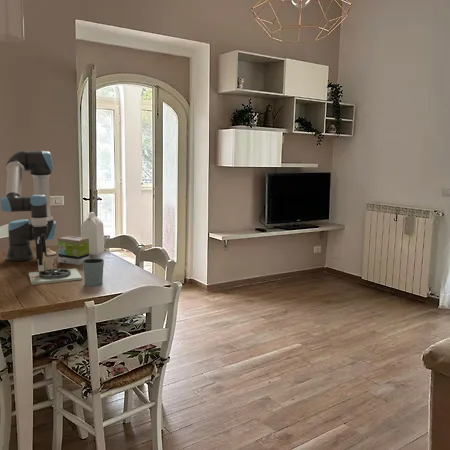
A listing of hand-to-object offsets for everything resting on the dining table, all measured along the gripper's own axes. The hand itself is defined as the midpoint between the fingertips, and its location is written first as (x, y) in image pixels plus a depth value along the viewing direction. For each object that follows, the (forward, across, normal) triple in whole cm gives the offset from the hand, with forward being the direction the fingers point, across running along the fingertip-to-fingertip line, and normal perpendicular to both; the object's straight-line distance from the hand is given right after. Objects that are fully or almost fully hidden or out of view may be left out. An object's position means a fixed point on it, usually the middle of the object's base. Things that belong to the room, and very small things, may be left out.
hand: (42, 269), depth 243 cm
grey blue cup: (+4, -16, -27) cm, 32 cm away
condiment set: (+5, +18, 0) cm, 18 cm away
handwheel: (+3, -1, -6) cm, 6 cm away
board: (+4, -1, -6) cm, 8 cm away
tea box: (+5, +31, -12) cm, 34 cm away
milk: (+6, +58, -20) cm, 61 cm away
